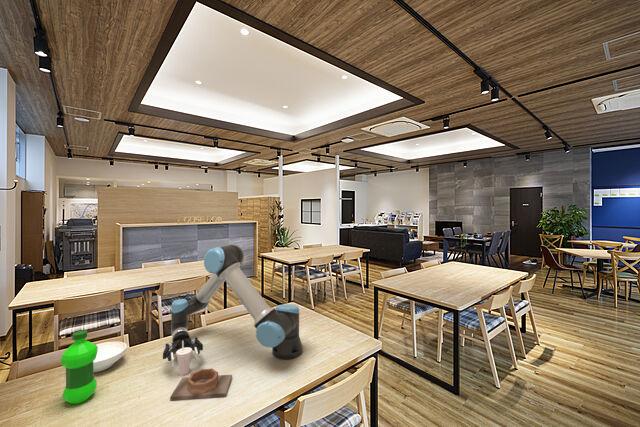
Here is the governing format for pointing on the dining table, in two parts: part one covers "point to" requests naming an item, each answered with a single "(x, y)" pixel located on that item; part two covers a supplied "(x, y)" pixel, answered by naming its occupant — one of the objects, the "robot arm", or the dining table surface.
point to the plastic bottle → (79, 369)
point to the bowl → (108, 354)
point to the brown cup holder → (202, 386)
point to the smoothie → (184, 359)
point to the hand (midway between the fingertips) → (185, 359)
